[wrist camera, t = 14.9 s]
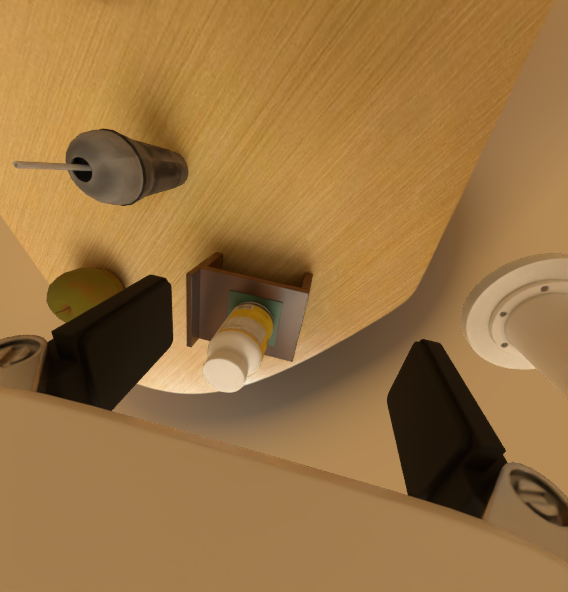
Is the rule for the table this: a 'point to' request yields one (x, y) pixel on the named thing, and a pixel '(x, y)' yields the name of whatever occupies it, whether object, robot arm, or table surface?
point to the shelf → (238, 289)
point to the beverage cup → (117, 167)
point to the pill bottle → (238, 347)
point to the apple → (81, 291)
